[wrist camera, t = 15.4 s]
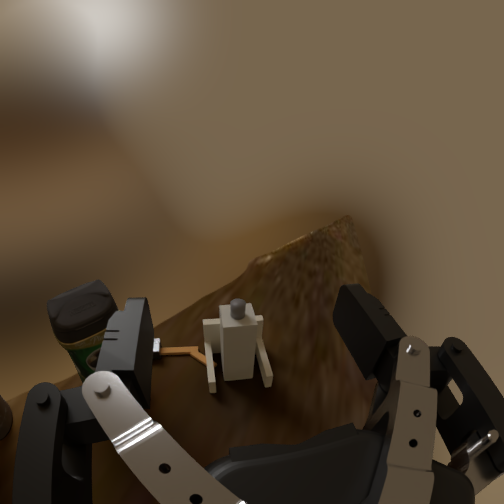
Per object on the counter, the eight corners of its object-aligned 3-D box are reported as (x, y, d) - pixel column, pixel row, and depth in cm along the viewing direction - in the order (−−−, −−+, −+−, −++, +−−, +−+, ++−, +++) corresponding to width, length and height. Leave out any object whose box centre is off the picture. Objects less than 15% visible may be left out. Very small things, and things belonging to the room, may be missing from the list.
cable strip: (157, 372, 41) (156, 370, 41) (158, 350, 45) (158, 347, 45) (217, 369, 43) (217, 367, 42) (214, 347, 47) (214, 345, 47)
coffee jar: (128, 358, 42) (100, 266, 34) (151, 389, 38) (122, 295, 29) (82, 382, 36) (37, 292, 27) (101, 416, 31) (48, 328, 23)
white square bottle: (224, 380, 41) (222, 315, 34) (221, 359, 45) (219, 294, 38) (252, 378, 42) (258, 313, 35) (247, 357, 46) (251, 292, 39)
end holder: (209, 393, 39) (206, 365, 35) (205, 348, 47) (202, 319, 43) (271, 386, 40) (276, 359, 37) (258, 344, 48) (261, 315, 45)
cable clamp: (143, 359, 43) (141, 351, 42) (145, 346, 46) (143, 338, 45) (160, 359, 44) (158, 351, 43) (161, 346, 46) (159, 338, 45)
